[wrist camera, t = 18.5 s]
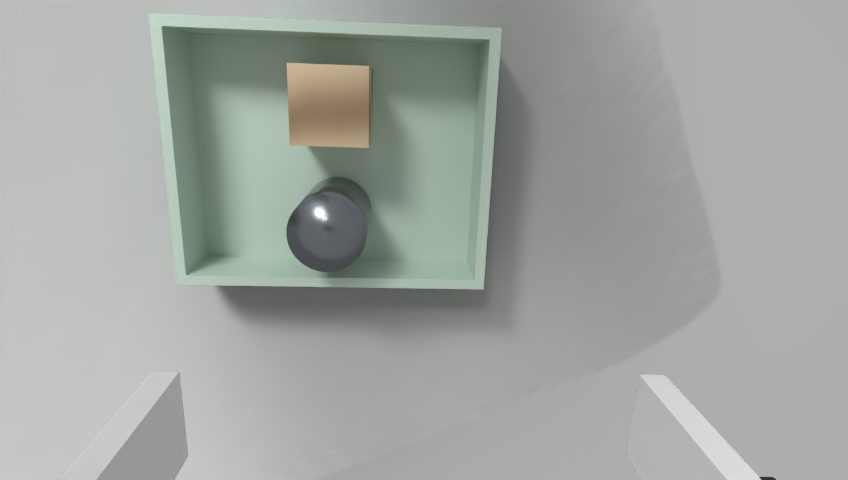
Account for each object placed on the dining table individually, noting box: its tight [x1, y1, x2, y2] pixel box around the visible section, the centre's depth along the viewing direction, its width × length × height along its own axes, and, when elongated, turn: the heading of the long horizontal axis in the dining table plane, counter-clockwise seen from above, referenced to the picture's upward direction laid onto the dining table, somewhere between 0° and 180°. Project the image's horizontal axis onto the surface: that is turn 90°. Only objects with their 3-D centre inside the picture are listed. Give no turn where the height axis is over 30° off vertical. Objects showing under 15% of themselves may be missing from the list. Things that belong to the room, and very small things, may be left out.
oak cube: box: [287, 63, 373, 148], centre depth 35 cm, size 5×5×5 cm
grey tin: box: [286, 177, 372, 272], centre depth 37 cm, size 5×5×7 cm
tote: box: [148, 13, 502, 289], centre depth 37 cm, size 17×21×5 cm
